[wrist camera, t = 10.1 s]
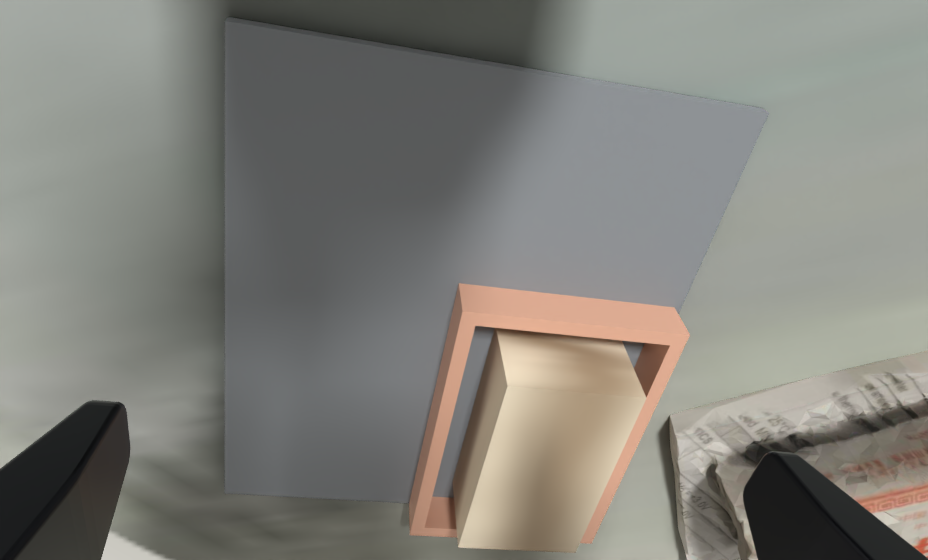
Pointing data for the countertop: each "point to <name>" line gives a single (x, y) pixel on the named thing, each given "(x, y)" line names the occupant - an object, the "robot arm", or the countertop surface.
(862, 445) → the packaged product
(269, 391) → the mat
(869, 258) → the countertop surface
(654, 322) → the frame
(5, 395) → the countertop surface
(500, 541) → the cream rectangular prism
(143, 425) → the countertop surface
